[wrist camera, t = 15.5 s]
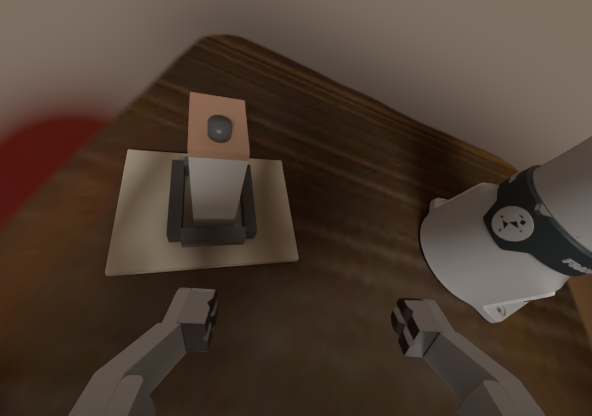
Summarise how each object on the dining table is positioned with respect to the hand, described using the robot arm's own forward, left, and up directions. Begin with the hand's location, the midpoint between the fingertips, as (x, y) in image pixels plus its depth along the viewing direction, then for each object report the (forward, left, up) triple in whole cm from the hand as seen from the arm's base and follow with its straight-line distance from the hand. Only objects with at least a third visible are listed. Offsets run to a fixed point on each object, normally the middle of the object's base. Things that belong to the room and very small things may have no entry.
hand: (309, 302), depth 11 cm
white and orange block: (+3, -13, -14) cm, 20 cm away
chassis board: (+3, -13, -15) cm, 20 cm away
